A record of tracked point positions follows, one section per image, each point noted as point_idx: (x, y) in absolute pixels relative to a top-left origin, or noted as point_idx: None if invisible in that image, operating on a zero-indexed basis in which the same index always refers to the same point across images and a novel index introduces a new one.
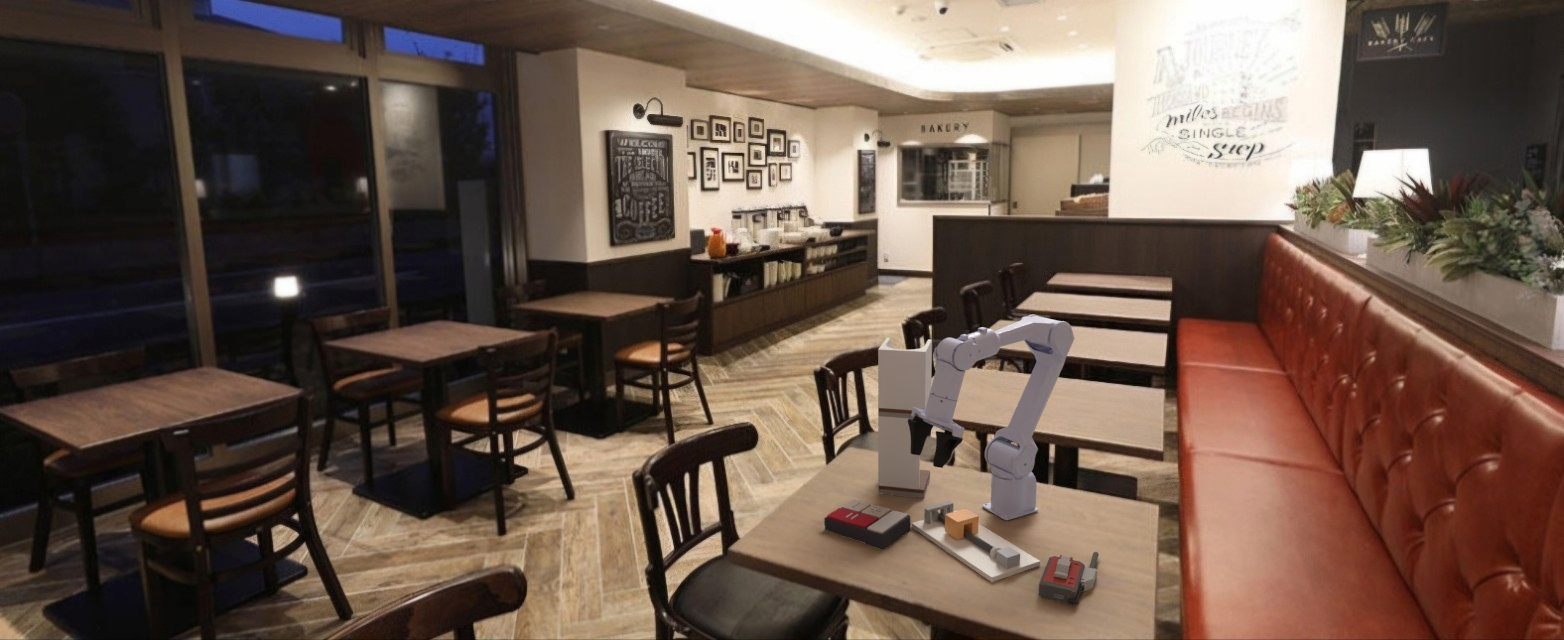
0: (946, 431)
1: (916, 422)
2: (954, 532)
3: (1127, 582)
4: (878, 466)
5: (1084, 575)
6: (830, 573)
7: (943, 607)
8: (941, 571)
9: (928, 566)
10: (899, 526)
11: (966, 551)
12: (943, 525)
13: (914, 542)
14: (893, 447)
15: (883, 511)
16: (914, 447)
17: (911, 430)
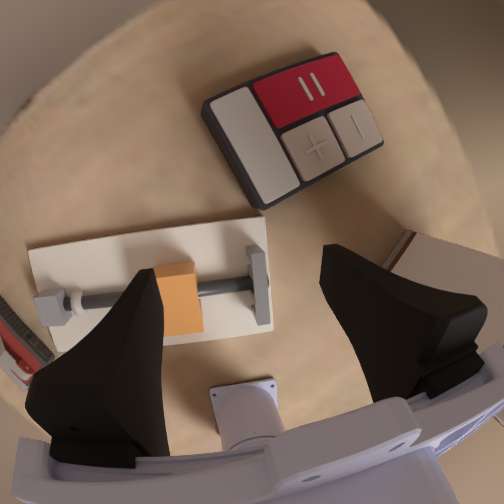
0: (106, 455)
1: (432, 343)
2: (161, 268)
3: (22, 403)
4: (444, 240)
5: (9, 369)
6: (171, 3)
7: (7, 137)
8: (83, 182)
9: (106, 167)
10: (234, 165)
11: (110, 259)
12: (226, 274)
13: (201, 187)
14: (461, 282)
15: (302, 159)
16: (339, 266)
17: (415, 290)
